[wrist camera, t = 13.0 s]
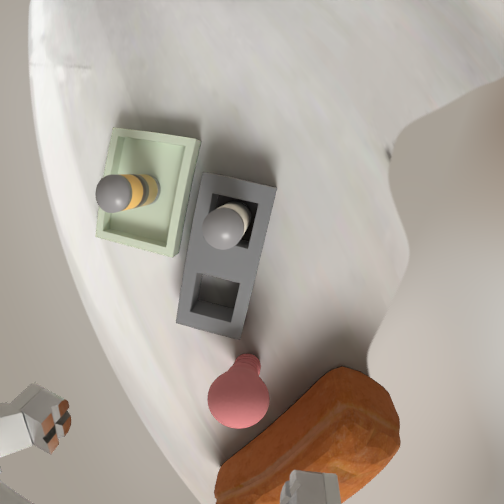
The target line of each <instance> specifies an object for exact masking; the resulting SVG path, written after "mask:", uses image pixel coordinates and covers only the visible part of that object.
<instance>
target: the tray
mask: <svg viewBox="0 0 504 504" xmlns="http://www.w3.org/2000/svg"><path fill="white" fill-rule="evenodd" d="M200 145H201V141H199V140H197V139H194V138H188V137H182V136H175V135H169V134H162V133H155V132H148V131H140V130H132V129H123V128H114V127H113V131H112V135H111V140H110V145H109V149H108V155H107V160H106V165H105V171H104V177H105V176H107V175H112V174H148V175H152V176H154V177H155V178H156V179H157V180H158V181H159V183H160V187H161V192H160V196H159V198H158V199H157V200H156V201H155V202H154V203H153V204H150V205H146V206H141V207H138V208H133V209H128V210H124V211H120V212H116V213H108V212H105V211H104V210H102V209H101V208H100V207H99V210H98V218H97V227H96V236H95V237H98V238H101V239H105V240H109V241H112V242H116V243H120V244H123V245H127V246H131V247H135V248H138V249H142V250H146V251H150V252H153V253H157V254H161V255H165V256H169V257H172V258H173V257H174V256H175V255H177V254H178V253H179V249H180V243H181V238H182V232H183V227H184V221H185V216H186V211H187V206H188V201H189V196H190V191H191V186H192V181H193V177H194V172H195V167H196V163H197V158H198V154H199V149H200Z"/></svg>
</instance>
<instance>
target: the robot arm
mask: <svg viewBox="0 0 504 504" xmlns="http://www.w3.org/2000/svg"><path fill="white" fill-rule="evenodd" d="M68 408H69V404H68V401H67V400H65V399H63V398H61V397H60V396H58V395H56V394H54V393H52V392H51V391H49V390H48V389H46V388H44V387H42V386H41V385H39V384H37V383H32V384H30V385H29V386H28V387H27V388H26V389H25V390H24V391H23V392H22V393H21V394H19V395H18V396H17V397H16V398H15V399H14V400H13V401H12V402H11V403H10V404H9V403H7V402H5V403H0V457H3V456H6V455H8V454H11V453H14V452H17V451H19V450H22V449H25V448H27V447H30V446H32V445H35V446H37V447H38V448H40V449H42V450H44V451H45V452H47V453H49V454H51V453H52V452H53V451H54V450H55V448H56V447H57V446H58V445H59V439H58V438H61V437H64V436H65V435H66V434H67V433H68V431H69V428H70V426H71V416H70V414H69V413H68V411H67V409H68ZM1 472H2V469H1V467H0V473H1ZM0 504H34V503H32V502H31V501H29V500H28V499H26V498H25V497H23V496H22V495H20V494H19V493H17V492H15V490H13V489H11V488H10V487H9V486H7V485H6V484H5V483H3V482H2V481H1V480H0ZM280 504H341V497H340V491H339V484H338V478H337V475H336V474H334V473H321V472H312V471H301V470H293V471H292V472H291V474H290V480H289V481H286V482H285V484H284V485H283V488H282V491H281V494H280Z"/></svg>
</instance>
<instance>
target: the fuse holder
mask: <svg viewBox="0 0 504 504" xmlns="http://www.w3.org/2000/svg"><path fill="white" fill-rule="evenodd" d="M276 190H277V187H273V186H268V185H264V184H260V183H255V182H251V181H247V180H242V179H238V178H233V177H229V176H224V175H219V174H214V173H208V172H203V175H202V179H201V184H200V189H199V193H198V198H197V203H196V208H195V213H194V218H193V223H192V229H191V234H190V239H189V245H188V250H187V256H186V262H185V267H184V273H183V279H182V285H181V292H180V298H179V304H178V311H177V318H176V323H178V324H181V325H185V326H189V327H192V328H196V329H199V330H203V331H207V332H210V333H214V334H218V335H222V336H226V337H230V338H234V339H238V340H240V338H241V334H242V330H243V326H244V322H245V318H246V314H247V310H248V306H249V302H250V298H251V294H252V289H253V285H254V281H255V277H256V273H257V269H258V265H259V261H260V257H261V253H262V249H263V244H264V240H265V236H266V232H267V228H268V224H269V220H270V215H271V211H272V207H273V203H274V199H275V195H276ZM219 195H223V196H228V197H232V198H237V199H241V200H245V201H250V202H254V203H258V208H257V212H256V217H255V221H254V225H253V230H252V234H251V238H250V241H245V240H240V241H239V242H238V244H237V245H235V246H234V247H232V248H230V249H226V250H221V249H216V248H214V247H212V246H211V245H209V244H208V243H207V241H206V240H205V238H204V236H203V233H202V224H203V221H204V219H205V217H206V216H207V215H208V214H209V213H210V212H211V211H213V210H215V209H216V205H217V200H218V196H219ZM203 274H205V275H209V276H213V277H217V278H221V279H225V280H229V281H233V282H237V283H240V286H239V290H238V294H237V299H236V303H235V307H234V309H233V308H229V307H225V306H221V305H217V304H213V303H209V302H205V301H202V300H198V296H199V291H200V285H201V280H202V275H203Z"/></svg>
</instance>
